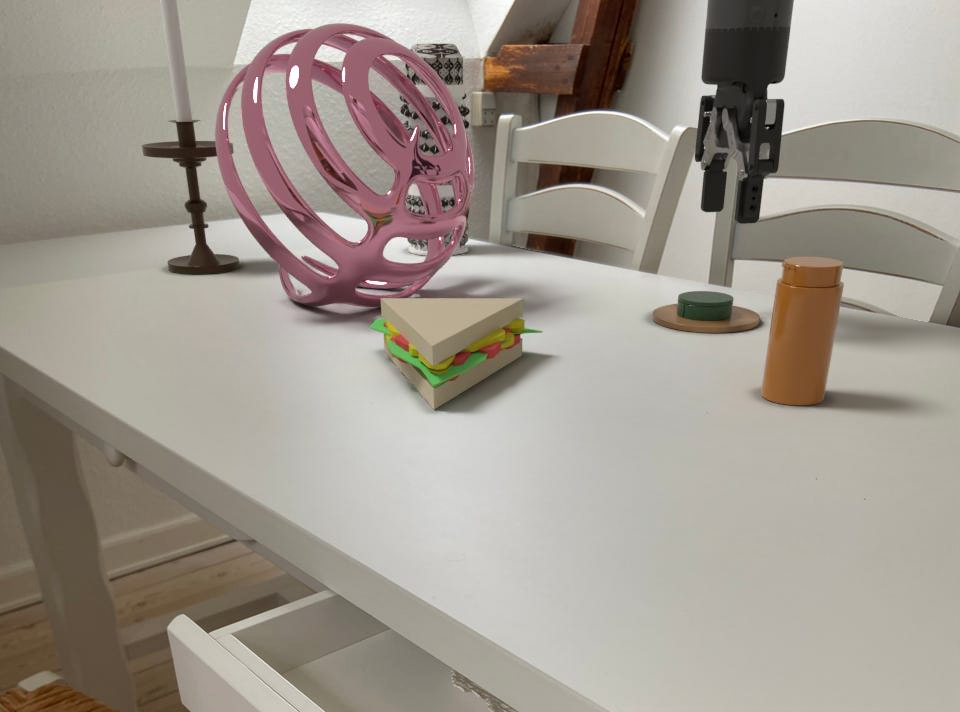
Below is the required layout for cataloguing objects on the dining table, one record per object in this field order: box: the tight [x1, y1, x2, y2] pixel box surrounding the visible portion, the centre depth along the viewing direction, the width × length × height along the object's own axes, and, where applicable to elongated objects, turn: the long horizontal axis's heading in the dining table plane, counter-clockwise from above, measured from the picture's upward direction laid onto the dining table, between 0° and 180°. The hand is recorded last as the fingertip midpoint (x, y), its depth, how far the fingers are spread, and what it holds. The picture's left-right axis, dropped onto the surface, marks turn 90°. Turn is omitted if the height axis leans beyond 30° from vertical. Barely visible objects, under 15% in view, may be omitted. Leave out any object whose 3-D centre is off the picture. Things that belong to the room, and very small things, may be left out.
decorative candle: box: [399, 43, 470, 256], centre depth 134 cm, size 9×9×25 cm
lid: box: [676, 290, 735, 321], centre depth 104 cm, size 6×6×2 cm
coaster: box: [651, 303, 761, 334], centre depth 105 cm, size 11×11×1 cm
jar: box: [760, 256, 845, 406], centre depth 79 cm, size 5×5×10 cm
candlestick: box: [141, 0, 241, 275], centre depth 121 cm, size 11×11×35 cm
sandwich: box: [369, 297, 543, 410], centre depth 86 cm, size 15×20×5 cm
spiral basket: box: [214, 22, 476, 308], centre depth 108 cm, size 28×28×27 cm
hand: (728, 217), depth 99 cm, fingers open, 8 cm apart
